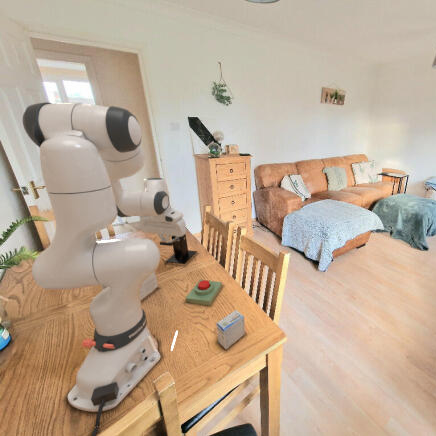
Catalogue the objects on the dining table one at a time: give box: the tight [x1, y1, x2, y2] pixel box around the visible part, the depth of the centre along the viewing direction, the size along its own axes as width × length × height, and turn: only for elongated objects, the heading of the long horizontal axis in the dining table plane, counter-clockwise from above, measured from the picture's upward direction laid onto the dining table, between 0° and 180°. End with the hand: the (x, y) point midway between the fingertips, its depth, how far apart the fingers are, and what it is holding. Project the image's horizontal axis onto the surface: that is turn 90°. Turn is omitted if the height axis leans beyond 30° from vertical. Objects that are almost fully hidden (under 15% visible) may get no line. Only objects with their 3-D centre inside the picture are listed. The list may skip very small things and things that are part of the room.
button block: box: [185, 279, 223, 306], centre depth 99 cm, size 12×10×4 cm
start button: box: [197, 279, 210, 290], centre depth 98 cm, size 4×4×2 cm
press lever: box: [159, 236, 180, 247], centre depth 114 cm, size 12×6×2 cm, turn 172°
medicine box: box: [216, 309, 246, 350], centre depth 78 cm, size 8×4×9 cm, turn 141°
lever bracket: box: [165, 233, 198, 265], centre depth 121 cm, size 12×10×14 cm
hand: (165, 242), depth 109 cm, fingers closed, pressing on press lever
